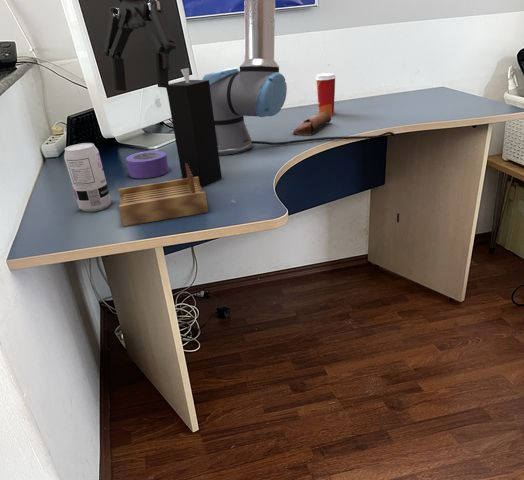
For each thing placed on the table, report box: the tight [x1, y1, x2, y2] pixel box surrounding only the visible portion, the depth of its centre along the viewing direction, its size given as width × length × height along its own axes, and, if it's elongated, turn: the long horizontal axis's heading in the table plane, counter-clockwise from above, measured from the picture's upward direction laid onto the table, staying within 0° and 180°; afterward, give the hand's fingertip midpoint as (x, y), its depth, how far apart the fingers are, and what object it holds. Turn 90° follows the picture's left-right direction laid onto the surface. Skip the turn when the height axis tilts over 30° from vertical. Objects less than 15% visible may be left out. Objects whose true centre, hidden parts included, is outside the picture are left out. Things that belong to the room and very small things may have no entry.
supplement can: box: [63, 142, 112, 213], centre depth 131 cm, size 8×8×15 cm
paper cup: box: [315, 72, 337, 116], centre depth 200 cm, size 8×8×14 cm
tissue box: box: [165, 67, 223, 187], centre depth 138 cm, size 8×8×28 cm
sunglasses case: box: [292, 112, 332, 136], centre depth 185 cm, size 18×7×7 cm, turn 155°
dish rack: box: [118, 163, 209, 227], centre depth 126 cm, size 20×14×9 cm
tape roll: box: [125, 150, 170, 180], centre depth 156 cm, size 12×12×5 cm
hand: (141, 89), depth 119 cm, fingers open, 13 cm apart
